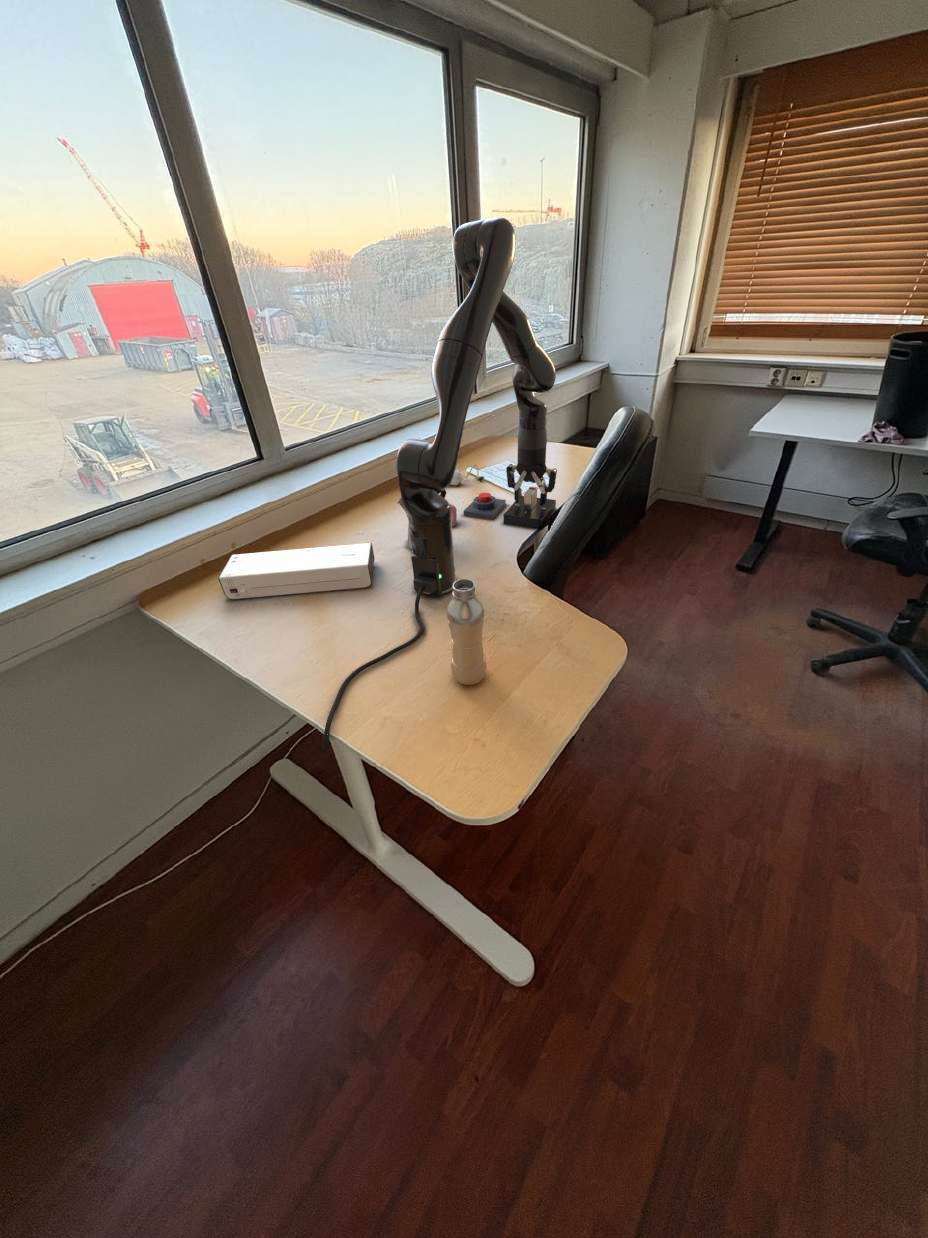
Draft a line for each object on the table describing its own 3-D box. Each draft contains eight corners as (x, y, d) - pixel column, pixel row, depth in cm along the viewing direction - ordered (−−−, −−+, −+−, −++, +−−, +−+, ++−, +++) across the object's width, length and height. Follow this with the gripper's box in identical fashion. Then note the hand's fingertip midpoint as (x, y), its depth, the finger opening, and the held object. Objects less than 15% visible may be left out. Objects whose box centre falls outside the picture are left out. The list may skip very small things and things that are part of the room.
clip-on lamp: (480, 482, 176) (429, 473, 175) (484, 464, 173) (432, 455, 171) (482, 492, 166) (428, 483, 164) (486, 473, 163) (430, 463, 161)
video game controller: (457, 526, 146) (457, 501, 145) (455, 526, 141) (455, 501, 140) (424, 526, 147) (423, 502, 146) (421, 526, 142) (420, 501, 141)
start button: (488, 503, 146) (488, 497, 145) (476, 502, 148) (476, 496, 147) (492, 498, 149) (492, 493, 148) (481, 497, 150) (481, 491, 149)
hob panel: (541, 529, 138) (541, 519, 136) (503, 524, 142) (503, 513, 140) (555, 509, 148) (556, 499, 146) (519, 504, 152) (520, 494, 150)
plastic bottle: (485, 663, 95) (482, 572, 83) (488, 689, 89) (485, 595, 78) (451, 665, 95) (443, 574, 83) (452, 691, 89) (443, 597, 78)
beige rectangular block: (531, 510, 141) (531, 493, 138) (523, 509, 142) (524, 492, 139) (536, 503, 145) (537, 487, 142) (529, 502, 146) (529, 486, 143)
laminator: (375, 564, 128) (371, 542, 124) (372, 590, 118) (368, 567, 114) (239, 575, 126) (232, 554, 123) (225, 603, 116) (216, 580, 113)
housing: (492, 520, 145) (492, 508, 143) (463, 516, 148) (463, 504, 146) (505, 505, 153) (505, 494, 150) (478, 501, 156) (478, 490, 154)
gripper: (501, 446, 133) (501, 505, 143) (554, 450, 128) (551, 512, 137) (511, 437, 138) (511, 495, 148) (562, 441, 133) (558, 501, 143)
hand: (530, 503), depth 143 cm, fingers open, 6 cm apart
